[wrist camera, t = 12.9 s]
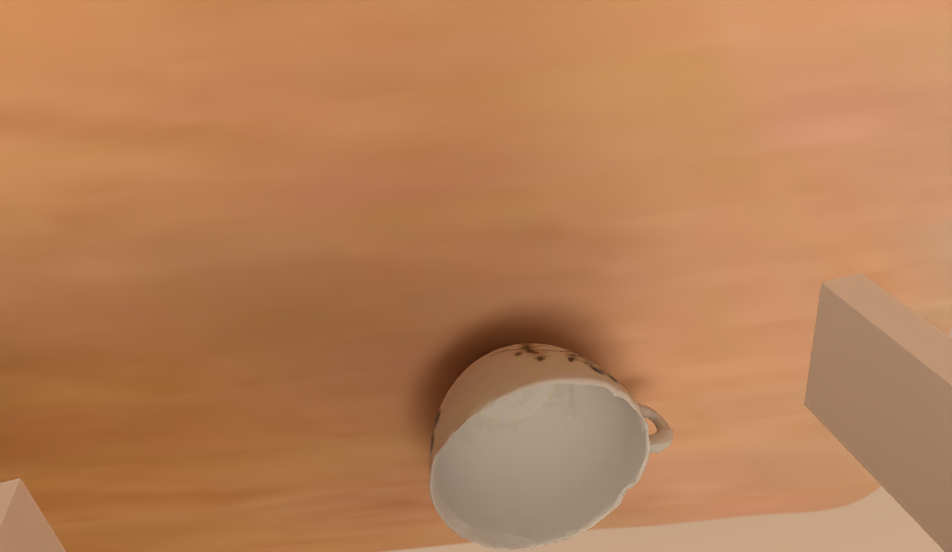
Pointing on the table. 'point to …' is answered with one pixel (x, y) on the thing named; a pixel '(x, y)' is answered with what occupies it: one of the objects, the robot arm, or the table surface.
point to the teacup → (536, 447)
